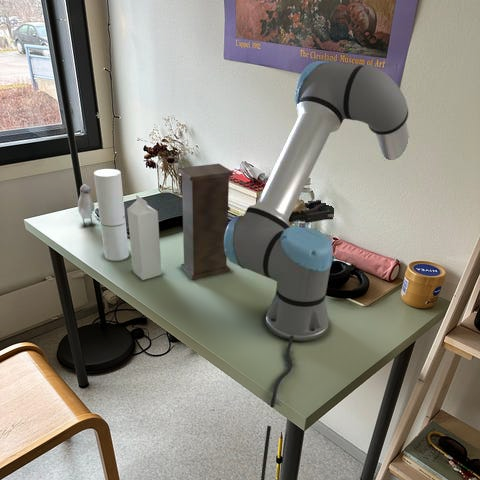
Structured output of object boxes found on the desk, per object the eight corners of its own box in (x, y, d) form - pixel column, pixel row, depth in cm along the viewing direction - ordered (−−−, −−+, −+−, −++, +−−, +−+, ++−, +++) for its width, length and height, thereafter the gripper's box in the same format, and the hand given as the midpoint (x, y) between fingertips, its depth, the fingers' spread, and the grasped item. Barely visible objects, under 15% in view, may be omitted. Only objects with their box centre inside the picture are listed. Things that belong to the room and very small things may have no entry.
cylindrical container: (131, 251, 145) (124, 169, 131) (124, 261, 139) (115, 177, 125) (109, 249, 146) (99, 168, 132) (101, 259, 140) (89, 175, 126)
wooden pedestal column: (217, 260, 143) (219, 163, 126) (229, 271, 137) (233, 171, 121) (180, 268, 138) (177, 168, 121) (192, 280, 132) (190, 177, 116)
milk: (142, 280, 131) (135, 204, 118) (132, 271, 135) (125, 197, 122) (162, 274, 134) (157, 199, 121) (151, 266, 138) (146, 192, 125)
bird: (86, 234, 154) (79, 189, 146) (76, 219, 164) (69, 176, 155) (101, 231, 156) (95, 187, 148) (90, 217, 166) (84, 175, 158)
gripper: (353, 225, 146) (290, 239, 136) (319, 207, 158) (259, 217, 148) (357, 202, 141) (293, 214, 132) (322, 185, 154) (261, 194, 144)
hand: (275, 216), depth 140 cm, fingers closed on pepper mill, 4 cm apart
